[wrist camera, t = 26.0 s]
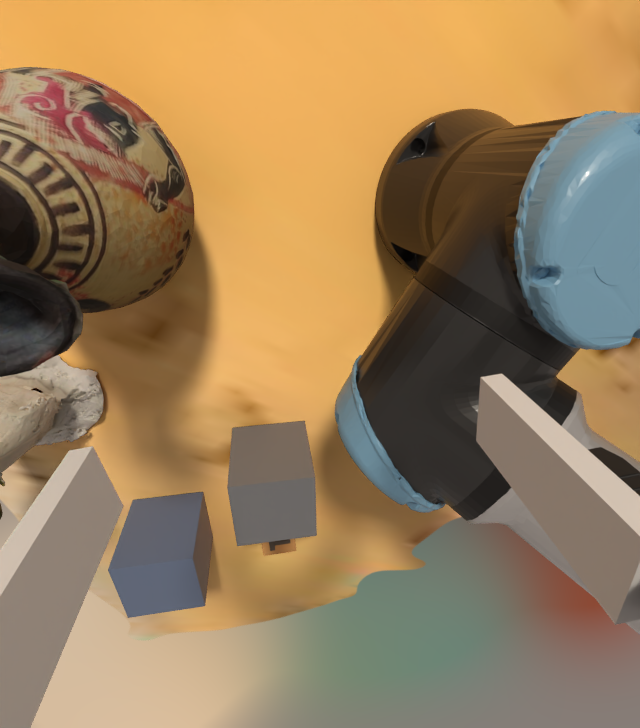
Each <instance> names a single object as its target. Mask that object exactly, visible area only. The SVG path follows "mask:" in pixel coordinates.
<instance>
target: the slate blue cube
mask: <svg viewBox="0 0 640 728" xmlns="http://www.w3.org/2000/svg"><path fill="white" fill-rule="evenodd" d="M212 539H213V536H212V531H211V526H210V522H209V517H208V512H207V508H206V503H205V498H204V493H203V492H197V493H188V494H179V495H171V496H162V497H154V498H145V499H137V500H133V502H132V504H131V507H130V510H129V513H128V516H127V518H126V521H125V524H124V527H123V530H122V532H121V535H120V538H119V541H118V544H117V546H116V549H115V552H114V555H113V558H112V560H111V563H110V566H109V569H108V571H109V573H110V576H111V578H112V580H113V583H114V585H115V588H116V590H117V592H118V595H119V597H120V599H121V602H122V604H123V606H124V609H125V611H126V614H127V616H128V618H129V617H136V616H142V615H149V614H155V613H162V612H169V611H175V610H182V609H188V608H195V607H202V606H205V602H206V593H207V584H208V575H209V566H210V557H211V548H212Z"/></svg>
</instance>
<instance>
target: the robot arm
mask: <svg viewBox="0 0 640 728" xmlns="http://www.w3.org/2000/svg"><path fill="white" fill-rule="evenodd" d="M376 220H377V225H378V229H379V232H380V235H381V238H382V240H383V242H384V244H385V246H386V247H387V249H388V250H389V252H390V253H391V254H392V255H393V256H394V257H395V258H396V259H397V260H398V261H399V262H400V263H402V264H403V265H404V266H406V267H407V268H408V269H410V270H412V271H413V272H415V273H417V274H416V275H415V277H414V278H413V279H412V281H411V282H410V284H409V285H408V287H407V288H406V290H405V291H404V293H403V294H402V296H401V297H400V299H399V300H398V302H397V303H396V305H395V306H394V308H393V309H392V311H391V313H390V314H389V316H388V317H387V319H386V320H385V322H384V323H383V325H382V326H381V328H380V329H379V331H378V332H377V334H376V335H375V337H374V338H373V340H372V341H371V343H370V344H369V346H368V347H367V349H366V350H365V352H364V353H363V355H360V356H359V357H358V358H357V359H356V361H355V363H354V365H353V368H352V372H351V374H350V375H349V377H348V379H347V381H346V382H345V384H344V386H343V387H342V389H341V391H340V393H339V394H338V397H337V400H336V404H335V417H336V422H337V424H338V432H339V435H340V437H341V440H342V442H343V444H344V446H345V448H346V450H347V451H348V453H349V455H350V456H351V458H352V459H353V461H354V462H355V463H356V465H357V466H358V467H359V469H360V470H361V471H362V472H363V473H364V475H365V476H366V477H367V478H368V479H369V480H370V481H371V482H372V483H373V484H374V485H375V486H376V487H377V488H378V489H379V490H380V491H382V492H383V493H384V494H385V495H387V496H388V497H389V498H391V499H392V500H394V501H395V502H397V503H399V504H401V505H404V504H407V505H408V507H409V508H410V509H411V510H414V511H418V512H431V511H434V510H438V509H440V508H442V507H444V505H445V504H447V505H449V506H450V507H451V508H452V509H453V510H455V511H456V512H457V513H458V514H459V515H461V516H462V517H463V518H464V519H465V520H466V521H468V522H469V523H471V524H481V523H500V524H504V525H507V526H508V527H509V528H510V529H512V530H513V531H514V532H515V533H517V534H518V535H519V536H520V537H522V538H523V539H524V540H525V541H526V542H527V543H529V544H530V545H531V546H532V547H534V548H535V549H536V550H537V551H539V552H540V553H541V554H542V555H543V556H545V557H546V558H547V559H548V560H550V561H551V562H552V563H553V564H555V565H556V566H557V567H558V568H559V569H560V570H562V571H563V572H564V573H565V574H567V575H568V576H569V577H570V578H571V579H573V580H574V581H575V582H577V584H579V585H580V586H581V587H583V588H584V589H585V590H586V591H587V592H588V593H590V594H591V595H592V596H593V597H595V598H596V600H597V601H598V602H599V604H600V605H601V606H602V608H603V609H604V610H605V612H606V613H607V614H608V616H609V617H610V618H611V619H612V621H613V622H614V624H615V625H616V624H621V623H626V624H627V625H629V626H630V627H631V628H632V629H634V630H635V631H636V632H637V633H638V634H640V462H638V461H637V460H636V459H634V458H633V457H631V456H630V455H628V454H627V453H625V452H624V451H622V450H621V449H619V448H618V447H616V446H615V445H613V444H612V443H610V442H609V441H607V440H606V439H604V438H603V437H601V436H600V435H599V434H597V433H596V432H594V431H593V430H592V429H591V428H590V427H589V426H588V424H587V422H586V417H585V412H584V406H583V401H582V396H581V394H580V393H579V392H578V391H576V390H574V389H573V388H571V387H570V386H568V385H567V384H565V383H564V382H562V381H561V380H559V379H557V377H556V375H557V374H558V373H559V371H560V370H561V369H562V368H563V367H564V366H565V365H566V364H567V362H568V361H569V360H570V359H571V358H572V357H573V356H574V355H575V354H576V352H577V351H578V350H579V349H580V348H582V349H586V350H587V349H595V350H607V349H612V348H619V347H622V346H624V345H627V344H629V343H630V341H631V339H632V337H635V338H640V113H616V112H615V111H601V112H593V113H591V114H585V115H584V116H581V117H574V118H567V119H560V120H553V121H546V122H539V123H532V124H525V125H517V126H514V125H513V124H511V123H510V122H508V121H507V120H505V119H504V118H502V117H501V116H499V115H496V114H494V113H491V112H488V111H484V110H478V109H461V110H455V111H451V112H446V113H442V114H439V115H436V116H434V117H431V118H429V119H427V120H425V121H424V122H422V123H420V124H419V125H418V126H416V127H415V128H413V129H412V130H411V131H410V132H409V133H408V134H407V135H406V136H405V137H404V138H403V139H402V140H401V141H400V142H399V143H398V145H397V146H396V147H395V149H394V150H393V152H392V153H391V155H390V156H389V158H388V160H387V162H386V164H385V166H384V168H383V171H382V174H381V176H380V180H379V183H378V188H377V194H376ZM122 508H123V504H122V502H121V500H120V498H119V496H118V494H117V492H116V490H115V489H114V487H113V485H112V483H111V481H110V479H109V477H108V475H107V473H106V471H105V469H104V467H103V465H102V463H101V461H100V459H99V457H98V455H97V453H96V452H95V450H94V448H93V446H92V447H87V448H81V449H75V450H70V451H68V453H67V454H66V456H65V457H64V459H63V460H62V462H61V463H60V464H59V466H58V467H57V469H56V470H55V472H54V473H53V475H52V476H51V477H50V479H49V480H48V482H47V483H46V485H45V486H44V488H43V489H42V490H41V492H40V493H39V495H38V496H37V498H36V499H35V501H34V502H33V504H32V505H31V506H30V508H29V509H28V511H27V512H26V514H25V515H24V517H23V518H22V519H21V521H20V522H19V524H18V525H17V527H16V528H15V530H14V531H13V533H12V534H11V536H10V537H9V538H8V540H7V541H6V543H5V544H4V546H3V547H2V548H1V550H0V728H30V727H31V725H32V722H33V720H34V718H35V715H36V713H37V711H38V708H39V706H40V703H41V701H42V699H43V696H44V694H45V692H46V689H47V687H48V684H49V682H50V679H51V677H52V675H53V672H54V670H55V668H56V665H57V663H58V661H59V658H60V655H61V653H62V651H63V649H64V646H65V644H66V642H67V639H68V637H69V634H70V632H71V630H72V627H73V625H74V623H75V620H76V618H77V615H78V613H79V610H80V608H81V606H82V604H83V601H84V599H85V596H86V594H87V592H88V589H89V587H90V585H91V582H92V580H93V577H94V575H95V573H96V570H97V568H98V565H99V563H100V561H101V558H102V556H103V554H104V551H105V549H106V546H107V544H108V542H109V539H110V537H111V535H112V532H113V530H114V527H115V525H116V523H117V520H118V518H119V516H120V513H121V511H122Z"/></svg>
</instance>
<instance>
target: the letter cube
mask: <svg viewBox="0 0 640 728" xmlns="http://www.w3.org/2000/svg"><path fill="white" fill-rule="evenodd" d="M262 549H263V555H264V556H265V555H272V554H278V553H285V552H291V551H296V544H295V539H287V540H280V541H272V542H265V543H262Z"/></svg>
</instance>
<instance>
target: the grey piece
mask: <svg viewBox="0 0 640 728" xmlns="http://www.w3.org/2000/svg"><path fill="white" fill-rule="evenodd" d="M97 373H98V372H96V371H93V370H89V369H87V370H84V369H82V370H80V369H79V368H73V367H71V366H68V365H67V363H65V362H63V361H62V360H61V358H60V356H58V355H57V356H55V357H53V358H51V359H49V360H47V361H45V362H44V363H42V364H41V365H39V366H37V367H36V368H34V369H33V370H31V371H27V372H23V373H19V374H15V375H9V376H4V377H0V384H1V385H0V484H1V485H2V486H5V482H4V480H3V479H2V477H1V476H2V475H3V474H2V473H1V472H3V471H4V470H6V469H7V468H8V467H9V466H11V465H12V464H13V463H14V462H15V461H16V460H18V459H19V458H20V457H21V456H22V455H23V454H25V453H26V452H27V451H28V450H29V449H31V448H32V447H33V446H34V445H44V444H47V445H52V444H53V443H57V442H62V441H65V440H69V441H70V442H72V441H74V440H77V439H79V438H80V436H83V435H84V434H86V433H87V431H86V430H88V429H89V428H90V427H91V426H92V425H93V424H95V423H96V422H97V421H98V420H99V418H100V416H101V414H102V412H103V400H104V397H103V392H102V389H101V386H100V383H99V381H98V380H97V379H96V375H97ZM33 388H37V389H39V390H41V391H42V392H43V393H40V392H38V391H35V390H31V389H33ZM67 442H68V441H67ZM1 517H2V509H1V504H0V519H1Z"/></svg>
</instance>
